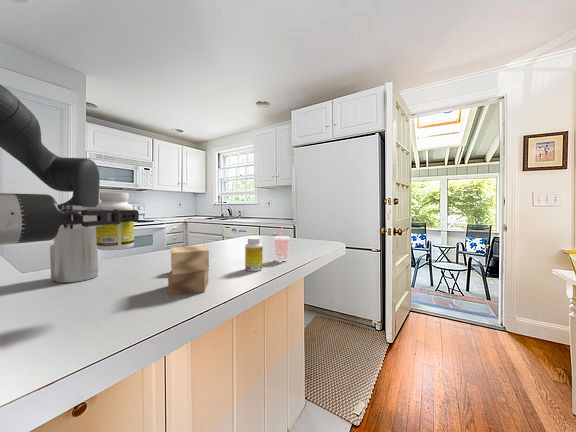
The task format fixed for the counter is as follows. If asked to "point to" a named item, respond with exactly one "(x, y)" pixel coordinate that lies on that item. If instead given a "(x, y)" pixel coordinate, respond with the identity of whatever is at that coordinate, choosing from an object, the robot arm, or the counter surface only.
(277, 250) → the beverage cup
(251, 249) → the supplement bottle
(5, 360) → the counter surface
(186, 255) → the upper block
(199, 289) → the lower block
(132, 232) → the pill bottle
